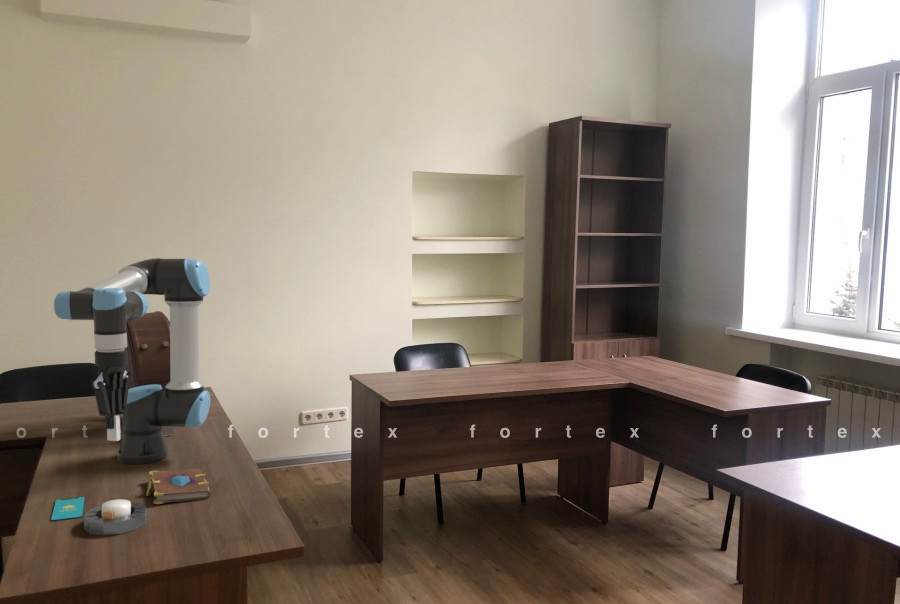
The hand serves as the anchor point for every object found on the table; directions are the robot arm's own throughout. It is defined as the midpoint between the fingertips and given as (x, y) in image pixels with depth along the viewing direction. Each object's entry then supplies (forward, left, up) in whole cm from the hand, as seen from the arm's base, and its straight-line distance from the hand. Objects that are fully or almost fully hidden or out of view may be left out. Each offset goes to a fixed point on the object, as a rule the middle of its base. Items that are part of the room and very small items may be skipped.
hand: (113, 439), depth 186 cm
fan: (-76, -43, -20) cm, 90 cm away
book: (-21, +4, -21) cm, 30 cm away
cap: (+5, +4, -20) cm, 21 cm away
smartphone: (0, -14, -20) cm, 25 cm away
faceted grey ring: (+5, +4, -20) cm, 21 cm away
